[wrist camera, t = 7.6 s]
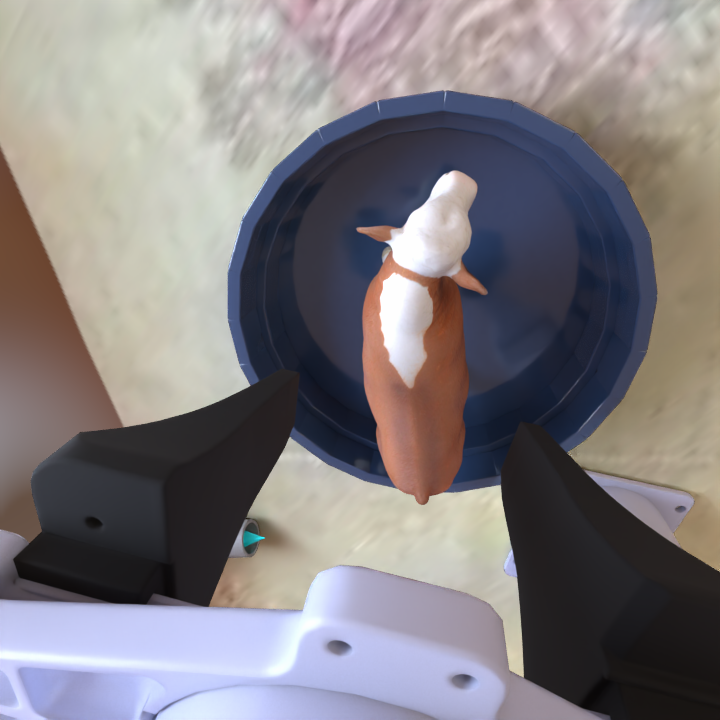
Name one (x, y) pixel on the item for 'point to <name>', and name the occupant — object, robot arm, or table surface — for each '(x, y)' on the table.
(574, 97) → the table surface
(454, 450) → the bull figurine
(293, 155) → the bowl
